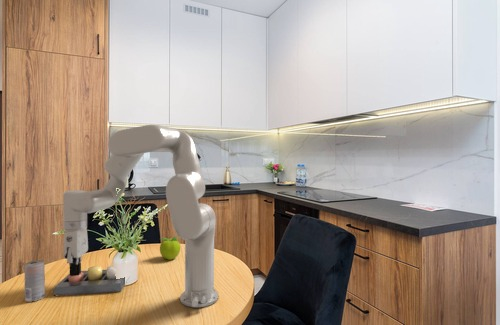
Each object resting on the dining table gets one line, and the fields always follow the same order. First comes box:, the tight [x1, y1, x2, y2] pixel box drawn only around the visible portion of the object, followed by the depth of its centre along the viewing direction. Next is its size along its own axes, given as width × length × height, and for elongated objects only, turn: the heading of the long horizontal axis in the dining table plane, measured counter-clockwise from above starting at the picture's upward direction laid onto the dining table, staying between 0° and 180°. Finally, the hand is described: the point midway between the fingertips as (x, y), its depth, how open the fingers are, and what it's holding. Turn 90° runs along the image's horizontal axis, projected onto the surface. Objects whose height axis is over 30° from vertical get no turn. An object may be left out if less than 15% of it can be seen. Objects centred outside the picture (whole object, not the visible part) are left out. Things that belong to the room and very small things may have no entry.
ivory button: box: [106, 265, 116, 280], centre depth 109 cm, size 5×5×4 cm
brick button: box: [68, 272, 83, 282], centre depth 107 cm, size 5×5×4 cm
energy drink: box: [24, 259, 46, 303], centre depth 98 cm, size 5×5×12 cm
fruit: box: [159, 236, 181, 261], centre depth 137 cm, size 9×9×10 cm
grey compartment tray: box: [53, 269, 126, 296], centre depth 108 cm, size 14×21×3 cm, turn 99°
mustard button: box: [87, 265, 103, 281], centre depth 108 cm, size 5×5×4 cm
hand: (75, 274), depth 107 cm, fingers closed
